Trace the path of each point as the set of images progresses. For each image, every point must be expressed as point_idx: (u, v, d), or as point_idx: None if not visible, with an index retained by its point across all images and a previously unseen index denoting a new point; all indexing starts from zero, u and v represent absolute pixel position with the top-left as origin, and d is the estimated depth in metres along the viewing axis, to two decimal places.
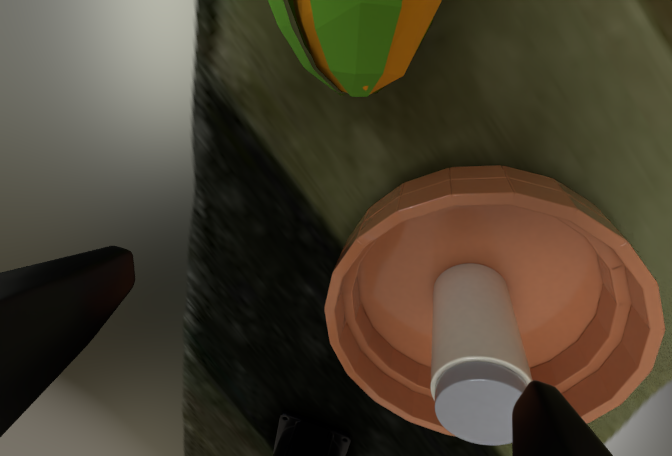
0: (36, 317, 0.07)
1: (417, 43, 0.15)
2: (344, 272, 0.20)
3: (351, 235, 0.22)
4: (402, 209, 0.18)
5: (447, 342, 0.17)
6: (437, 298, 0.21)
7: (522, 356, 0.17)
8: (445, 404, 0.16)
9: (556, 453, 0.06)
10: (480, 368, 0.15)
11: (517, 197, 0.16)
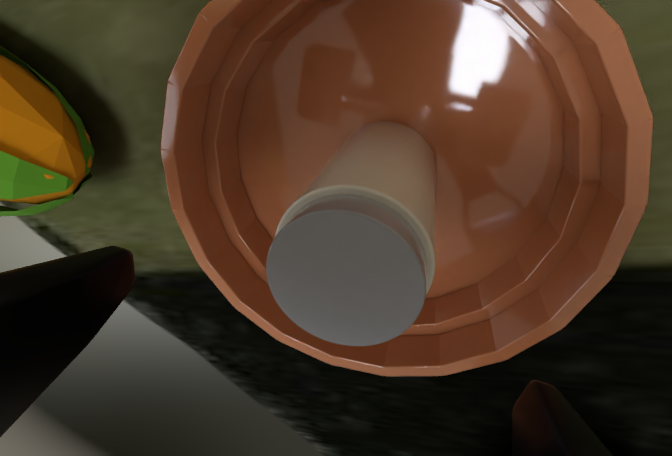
0: (36, 317, 0.07)
1: (31, 114, 0.15)
2: (234, 296, 0.17)
3: None
4: (171, 203, 0.15)
5: None
6: None
7: (335, 173, 0.10)
8: (310, 321, 0.10)
9: (556, 453, 0.06)
10: None
11: (173, 79, 0.13)
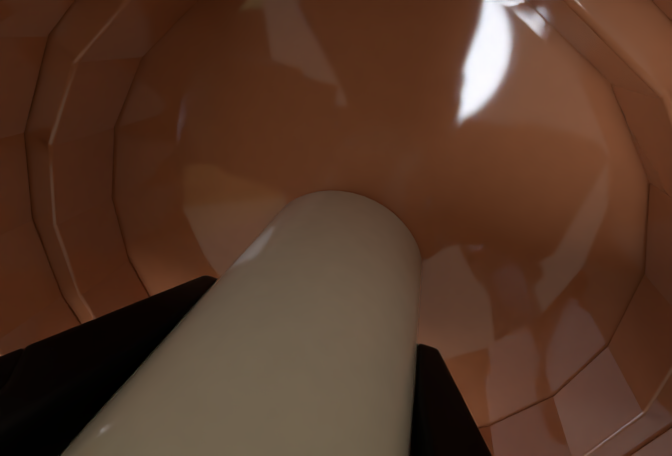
0: None
1: None
2: None
3: None
4: None
5: None
6: None
7: (136, 414, 0.04)
8: None
9: (416, 405, 0.06)
10: None
11: None
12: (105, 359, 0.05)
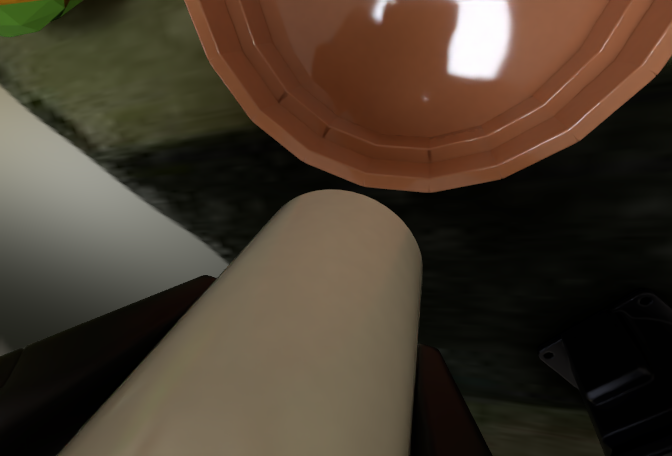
0: None
1: None
2: (252, 103, 0.14)
3: None
4: None
5: None
6: None
7: (135, 412, 0.04)
8: None
9: (416, 405, 0.06)
10: None
11: None
12: (105, 359, 0.05)
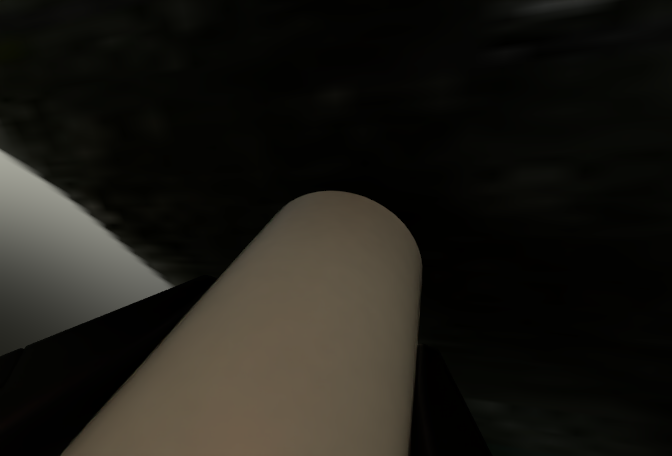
0: None
1: None
2: None
3: None
4: None
5: None
6: None
7: (135, 415, 0.04)
8: None
9: (416, 405, 0.06)
10: None
11: None
12: (105, 359, 0.05)
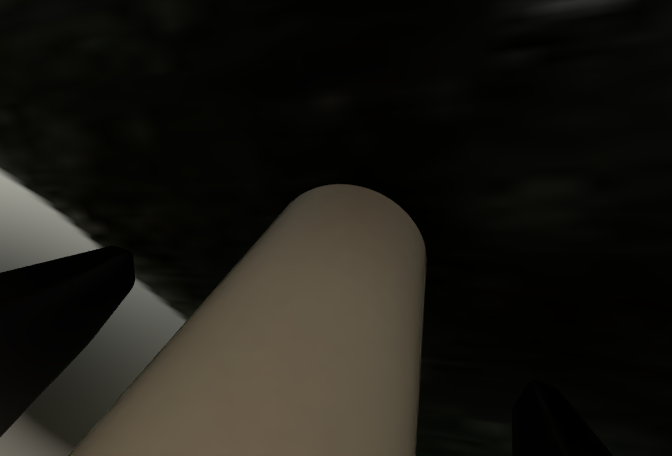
0: (36, 317, 0.07)
1: None
2: None
3: None
4: None
5: None
6: None
7: (175, 376, 0.04)
8: None
9: (556, 453, 0.06)
10: None
11: None
12: None
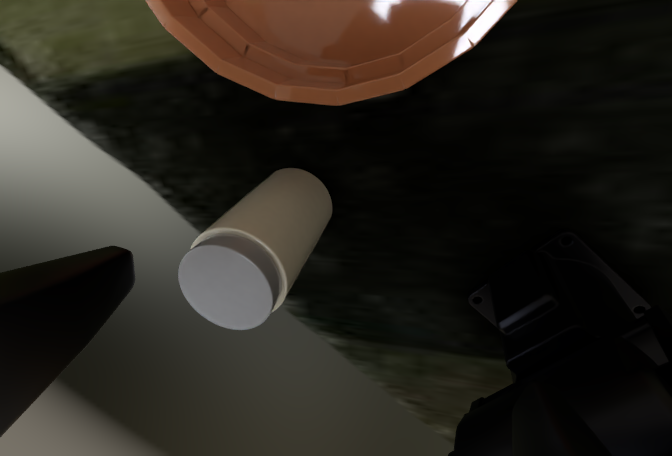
0: (36, 317, 0.07)
1: None
2: (163, 7, 0.14)
3: None
4: None
5: None
6: None
7: (227, 216, 0.16)
8: (209, 313, 0.15)
9: (556, 453, 0.06)
10: None
11: None
12: None
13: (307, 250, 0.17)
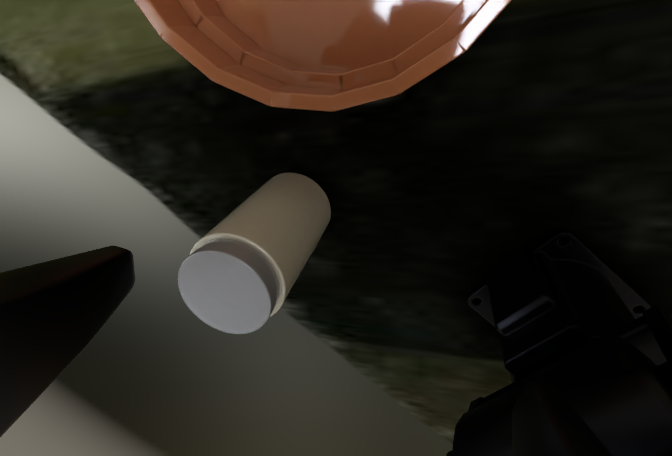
0: (36, 317, 0.07)
1: None
2: (160, 18, 0.14)
3: None
4: None
5: None
6: None
7: (226, 222, 0.16)
8: (209, 318, 0.16)
9: (556, 453, 0.06)
10: None
11: None
12: None
13: (305, 254, 0.18)
